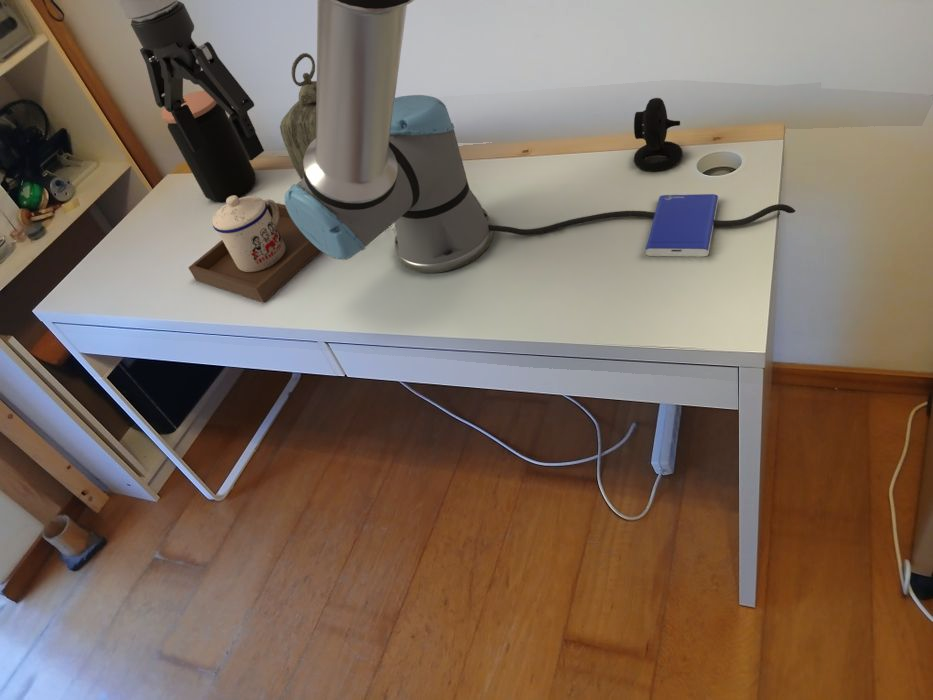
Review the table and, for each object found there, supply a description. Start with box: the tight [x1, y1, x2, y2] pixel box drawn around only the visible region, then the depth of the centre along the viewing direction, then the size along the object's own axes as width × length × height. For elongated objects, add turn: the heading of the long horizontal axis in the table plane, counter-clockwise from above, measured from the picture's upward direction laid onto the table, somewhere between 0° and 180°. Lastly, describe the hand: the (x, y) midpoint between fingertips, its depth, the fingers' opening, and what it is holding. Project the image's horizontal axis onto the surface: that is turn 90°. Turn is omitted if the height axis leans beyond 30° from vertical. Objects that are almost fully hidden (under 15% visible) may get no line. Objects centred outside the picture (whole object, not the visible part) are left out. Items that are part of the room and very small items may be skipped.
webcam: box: [633, 97, 683, 172], centre depth 117 cm, size 8×8×10 cm
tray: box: [188, 202, 322, 304], centre depth 127 cm, size 18×20×3 cm
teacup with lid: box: [212, 195, 285, 272], centre depth 124 cm, size 12×9×12 cm
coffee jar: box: [160, 89, 256, 203], centre depth 143 cm, size 11×11×18 cm
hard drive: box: [645, 193, 719, 258], centre depth 106 cm, size 2×8×12 cm
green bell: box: [279, 52, 317, 180], centre depth 129 cm, size 14×9×25 cm, turn 162°
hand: (227, 151), depth 115 cm, fingers open, 13 cm apart
